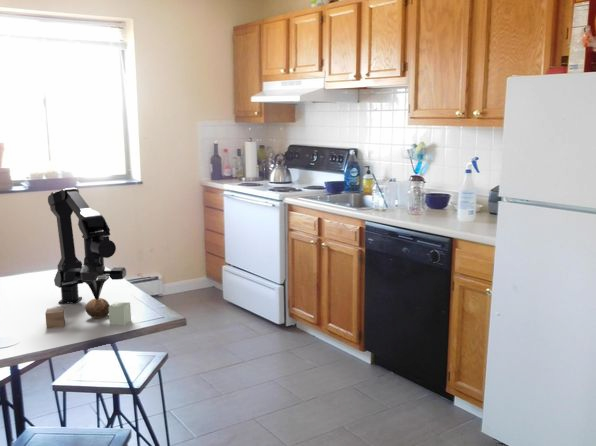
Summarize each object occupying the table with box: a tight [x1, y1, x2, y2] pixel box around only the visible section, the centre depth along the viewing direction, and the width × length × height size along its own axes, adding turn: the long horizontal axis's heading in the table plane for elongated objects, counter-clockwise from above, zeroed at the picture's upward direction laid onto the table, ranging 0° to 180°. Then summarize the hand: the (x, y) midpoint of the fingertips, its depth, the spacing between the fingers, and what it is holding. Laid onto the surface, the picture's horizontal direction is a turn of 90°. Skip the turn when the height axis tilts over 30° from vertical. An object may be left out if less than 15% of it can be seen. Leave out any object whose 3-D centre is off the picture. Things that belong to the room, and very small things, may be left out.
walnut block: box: [45, 307, 66, 329], centre depth 185 cm, size 5×5×5 cm
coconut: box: [84, 297, 111, 319], centre depth 193 cm, size 8×8×6 cm
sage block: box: [108, 301, 132, 326], centre depth 187 cm, size 5×5×6 cm
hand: (97, 299), depth 193 cm, fingers closed
